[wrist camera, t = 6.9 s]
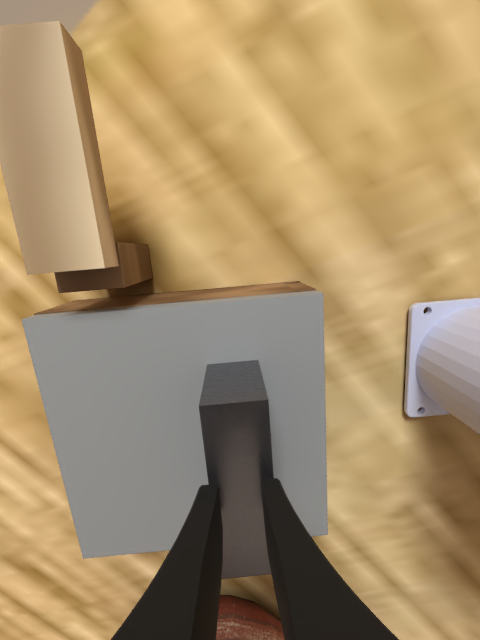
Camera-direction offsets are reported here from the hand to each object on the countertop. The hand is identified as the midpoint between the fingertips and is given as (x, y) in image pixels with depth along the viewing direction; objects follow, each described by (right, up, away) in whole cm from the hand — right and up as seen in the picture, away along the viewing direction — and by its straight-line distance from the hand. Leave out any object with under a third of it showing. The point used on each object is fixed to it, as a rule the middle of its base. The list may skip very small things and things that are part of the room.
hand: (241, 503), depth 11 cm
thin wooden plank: (-7, +13, +1) cm, 15 cm away
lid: (-3, +1, +5) cm, 6 cm away
